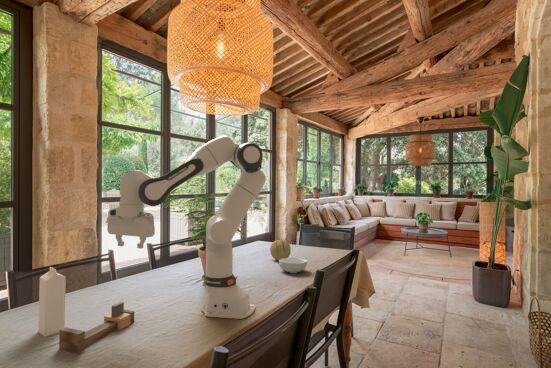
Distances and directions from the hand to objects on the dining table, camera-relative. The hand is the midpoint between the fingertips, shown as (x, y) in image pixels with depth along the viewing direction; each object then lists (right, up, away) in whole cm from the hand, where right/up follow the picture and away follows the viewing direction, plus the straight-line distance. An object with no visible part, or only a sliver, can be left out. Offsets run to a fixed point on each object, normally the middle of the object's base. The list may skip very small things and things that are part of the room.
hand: (130, 247), depth 124 cm
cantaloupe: (+60, -29, +100) cm, 120 cm away
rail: (-3, -27, -15) cm, 31 cm away
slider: (-1, -27, -8) cm, 28 cm away
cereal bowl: (+67, -29, +70) cm, 101 cm away
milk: (-21, -27, -13) cm, 37 cm away
